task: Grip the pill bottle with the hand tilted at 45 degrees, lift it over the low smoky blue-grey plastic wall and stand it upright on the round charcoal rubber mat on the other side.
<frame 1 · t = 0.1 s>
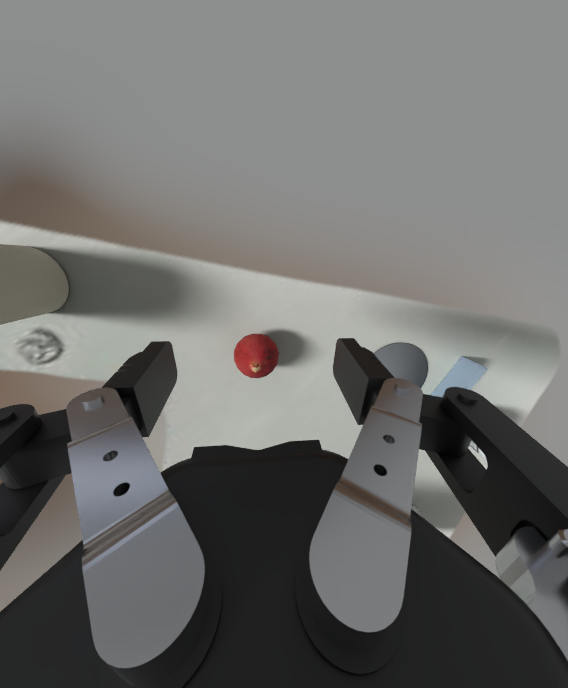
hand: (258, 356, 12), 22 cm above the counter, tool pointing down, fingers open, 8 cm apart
onion: (256, 345, 36), on the counter
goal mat: (393, 374, 39), on the counter
divider wall: (433, 395, 42), on the counter
travel mug: (36, 280, 30), on the counter
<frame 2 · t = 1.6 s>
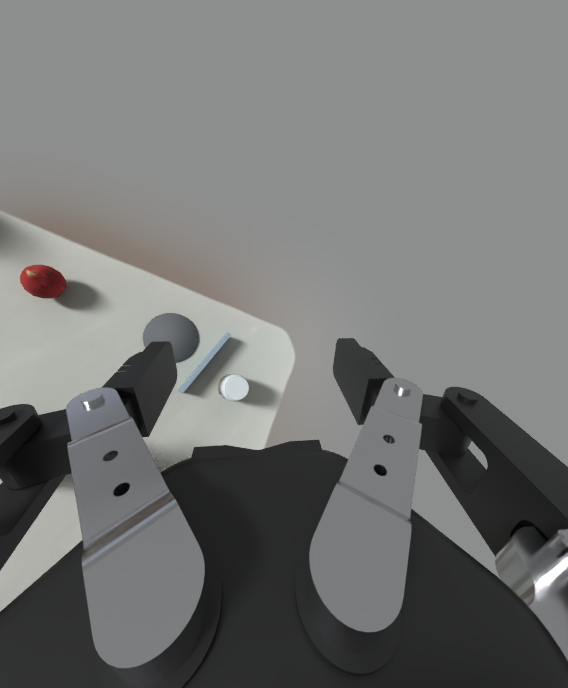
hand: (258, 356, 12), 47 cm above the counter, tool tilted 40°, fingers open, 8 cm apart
onion: (54, 289, 47), on the counter
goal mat: (171, 337, 54), on the counter
divider wall: (204, 362, 56), on the counter
pill bottle: (229, 386, 57), on the counter
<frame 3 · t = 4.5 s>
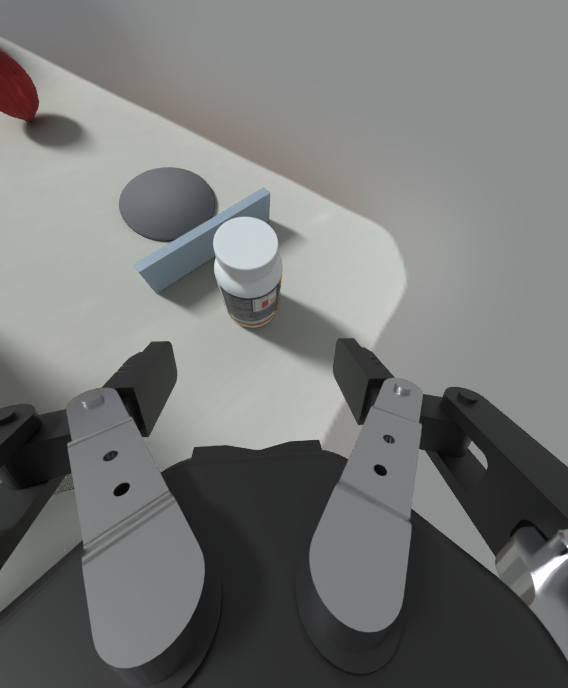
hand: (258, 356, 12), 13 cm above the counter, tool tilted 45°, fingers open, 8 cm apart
onion: (32, 121, 32), on the counter
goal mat: (168, 203, 30), on the counter
beer glass: (69, 530, 19), on the counter
divider wall: (214, 252, 28), on the counter
pill bottle: (252, 305, 27), on the counter
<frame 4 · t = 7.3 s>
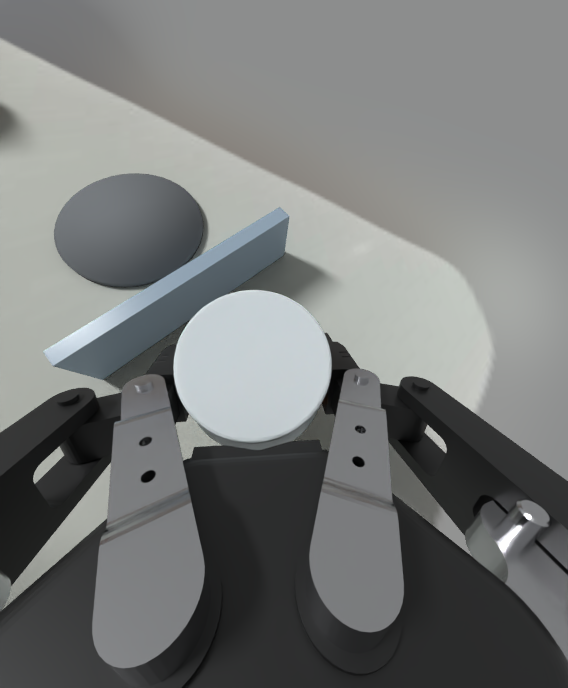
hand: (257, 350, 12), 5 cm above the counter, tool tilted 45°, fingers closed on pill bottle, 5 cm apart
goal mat: (133, 227, 20), on the counter
divider wall: (200, 305, 18), on the counter
pill bottle: (258, 395, 17), on the counter, touching gripper
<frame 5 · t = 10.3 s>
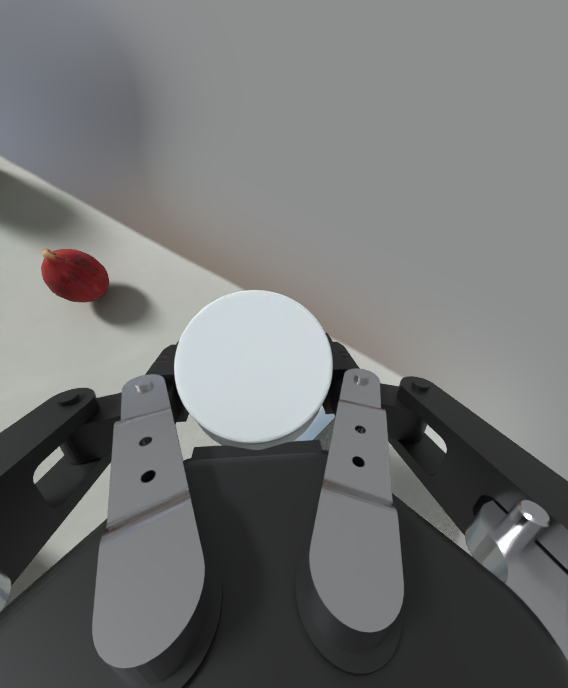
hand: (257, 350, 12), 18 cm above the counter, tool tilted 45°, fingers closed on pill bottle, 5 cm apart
onion: (98, 293, 32), on the counter
divider wall: (288, 448, 28), on the counter
pill bottle: (259, 396, 17), point 13 cm above the counter, touching gripper
when the fingers open (6 cm above the counter, at t = 13.3 s): pill bottle drops 1 cm, resting on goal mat.
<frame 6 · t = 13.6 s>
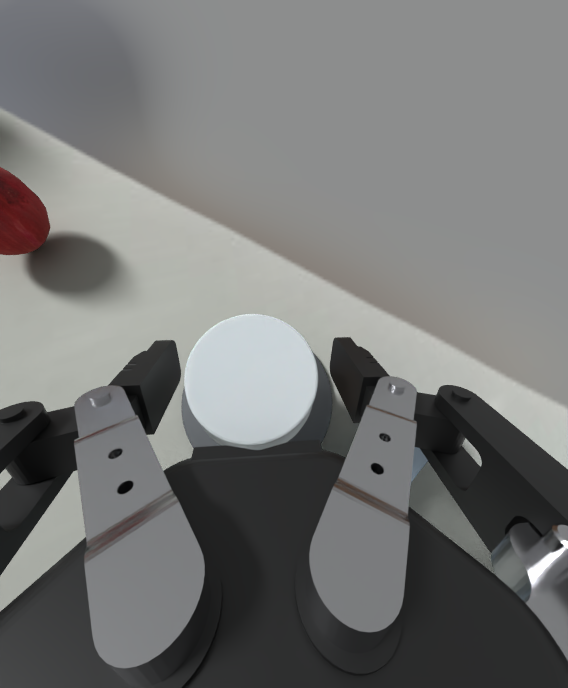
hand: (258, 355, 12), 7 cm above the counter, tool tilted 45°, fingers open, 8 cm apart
onion: (38, 248, 21), on the counter
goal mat: (259, 398, 18), on the counter
pill bottle: (256, 400, 18), resting on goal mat
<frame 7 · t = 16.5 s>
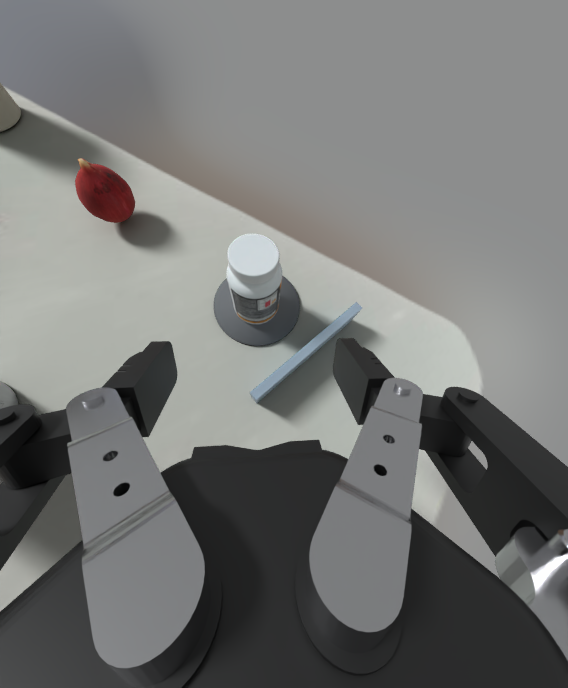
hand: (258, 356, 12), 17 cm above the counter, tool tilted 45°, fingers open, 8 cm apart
onion: (123, 220, 34), on the counter
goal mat: (257, 305, 31), on the counter
divider wall: (304, 356, 30), on the counter
pill bottle: (256, 306, 31), resting on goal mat
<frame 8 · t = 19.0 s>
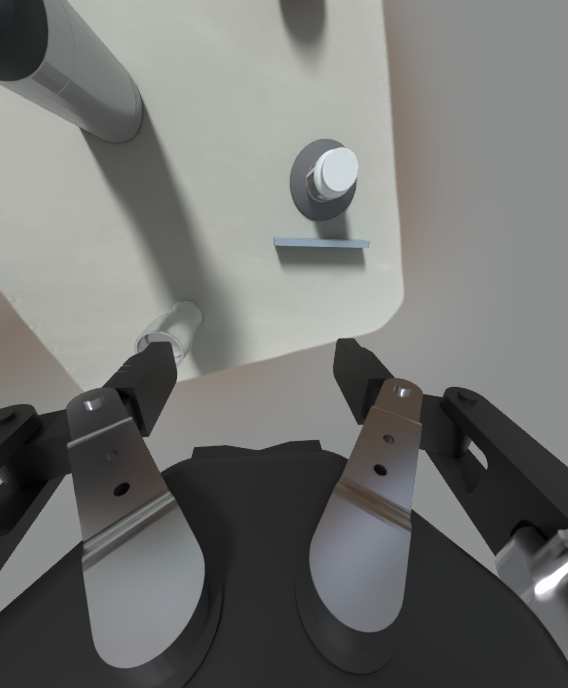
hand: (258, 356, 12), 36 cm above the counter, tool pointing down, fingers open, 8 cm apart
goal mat: (323, 182, 40), on the counter
beer glass: (187, 314, 48), on the counter
divider wall: (317, 241, 44), on the counter
pill bottle: (321, 182, 39), resting on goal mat
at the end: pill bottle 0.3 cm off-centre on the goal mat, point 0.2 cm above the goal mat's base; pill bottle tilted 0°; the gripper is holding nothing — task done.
